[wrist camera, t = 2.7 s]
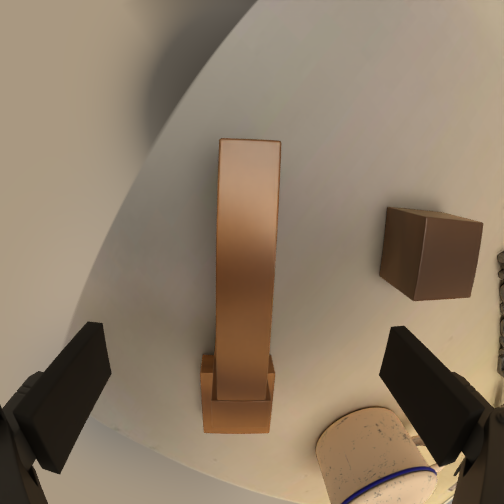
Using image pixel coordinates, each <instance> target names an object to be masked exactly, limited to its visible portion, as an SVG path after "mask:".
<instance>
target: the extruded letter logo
mask: <svg viewBox="0 0 504 504" xmlns="http://www.w3.org/2000/svg"><path fill="white" fill-rule="evenodd" d="M498 261H499V262H501V263H503V264H504V252H503V253H501V254H500V255H498ZM499 278H501V279H503V280H504V269H503V270H502V271H500V272H499ZM500 297H501V299H502V301H503V303H502V304H501V305H500V308H501V313H502V314H503V316H504V285H502V286H501V288H500ZM500 331H501V334H502V336H501V337H500V343H501V344H502V346H503V347H502V348H501V349H500V350H499V354H502V355H501V356H499V364H498V373H499V374H500V375H501V376H502V377H504V320H502V321H501V323H500ZM501 408H504V404H503V405H502V406H501Z"/></svg>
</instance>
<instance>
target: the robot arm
mask: <svg viewBox="0 0 504 504" xmlns="http://www.w3.org/2000/svg"><path fill="white" fill-rule="evenodd" d="M111 374H112V373H111V368H110V363H109V358H108V353H107V347H106V341H105V336H104V329H103V323H97V322H87V323H86V324H85V325H84V326H83V327H82V329H81V330H80V331H79V332H78V333H77V334H76V335H75V336H74V338H73V339H72V340H71V341H70V342H69V343H68V344H67V346H66V347H65V348H64V349H63V350H62V351H61V353H60V354H59V355H58V356H57V357H56V358H55V360H54V361H53V362H52V363H51V364H50V366H49V367H48V368H47V369H46V370H45V372H40V371H38V372H36V373H35V374H33V375H31V376H30V377H28V379H27V380H26V381H25V382H24V383H23V384H22V386H21V387H20V388H19V389H18V390H17V392H16V393H15V394H14V395H13V396H12V397H11V399H10V400H9V401H8V402H7V403H6V405H5V406H4V407H3V408H1V406H0V504H48V502H47V500H46V497H45V495H44V492H43V490H42V488H41V485H40V482H39V479H38V476H37V474H36V471H35V469H34V468H33V466H32V465H33V463H34V461H35V459H37V461H38V462H39V464H40V466H41V467H42V468H43V469H45V470H48V471H51V472H54V473H57V474H60V473H61V471H62V469H63V467H64V465H65V463H66V461H67V459H68V456H69V454H70V452H71V450H72V448H73V446H74V444H75V442H76V440H77V438H78V436H79V434H80V432H81V430H82V428H83V426H84V424H85V423H86V420H87V419H88V417H89V415H90V413H91V411H92V409H93V407H94V405H95V403H96V401H97V400H98V398H99V396H100V394H101V392H102V390H103V388H104V387H105V385H106V383H107V381H108V379H109V377H110V376H111ZM379 376H380V377H381V379H382V380H383V382H384V383H385V385H386V386H387V388H388V389H389V391H390V392H391V394H392V395H393V397H394V398H395V400H396V401H397V403H398V404H399V406H400V407H401V409H402V410H403V412H404V413H405V415H406V416H407V418H408V419H409V421H410V422H411V424H412V425H413V427H414V429H415V430H416V432H417V433H418V435H419V436H420V438H421V439H422V441H423V442H424V444H425V446H426V447H427V449H428V450H429V452H430V453H431V455H432V457H433V458H434V460H435V461H436V463H437V465H438V466H439V467H442V466H445V465H448V464H450V463H453V462H455V461H456V459H457V457H458V456H459V454H460V453H461V451H462V452H463V454H464V455H465V458H464V459H463V461H462V462H461V464H460V465H459V467H458V468H457V470H456V471H455V473H454V475H453V476H456V475H457V474H458V472H459V471H460V473H459V478H458V482H457V486H456V490H455V494H454V498H453V501H452V504H504V408H500V407H499V408H495V409H494V408H493V407H492V406H491V405H490V404H489V403H488V402H487V401H486V400H485V399H484V397H483V396H482V395H481V394H480V393H479V392H478V391H476V389H475V388H474V387H473V386H472V385H471V386H470V383H469V382H468V381H467V380H466V379H465V378H464V377H462V376H460V375H459V374H457V373H455V372H451V371H450V370H449V369H448V368H447V367H446V366H445V365H444V364H443V363H442V362H441V361H440V360H439V359H438V358H437V357H436V356H435V355H434V354H433V353H432V352H431V351H430V350H429V349H428V348H427V347H426V346H425V345H424V344H423V343H422V342H421V341H419V340H418V339H417V338H416V337H415V336H414V335H413V334H412V333H411V332H410V331H409V330H408V329H407V328H406V327H405V326H396V327H391V329H390V333H389V338H388V342H387V346H386V350H385V354H384V358H383V362H382V366H381V370H380V373H379Z"/></svg>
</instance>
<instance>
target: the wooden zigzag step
mask: <svg viewBox="0 0 504 504" xmlns="http://www.w3.org/2000/svg"><path fill="white" fill-rule="evenodd" d="M280 163H281V141H275V140H257V139H231V138H221V139H220V140H219V161H218V191H217V233H216V338H215V351H214V355H203V356H202V363H201V371H200V379H201V397H202V413H203V427H204V433H224V434H251V433H269V429H270V420H271V411H272V401H273V391H274V380H275V371H274V366H273V362H272V357H271V355H269V350H270V337H271V323H272V308H273V293H274V277H275V261H276V244H277V226H278V206H279V185H280Z"/></svg>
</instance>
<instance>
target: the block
mask: <svg viewBox="0 0 504 504" xmlns="http://www.w3.org/2000/svg"><path fill="white" fill-rule="evenodd" d="M482 230H483V223H482V222H478V221H474V220H471V219H467V218H463V217H459V216H455V215H451V214H447V213H442V212H435V211H426V210H416V209H406V208H395V207H388V208H387V218H386V228H385V237H384V245H383V254H382V261H381V268H380V277H382V278H383V279H384V280H386V281H387V282H388V283H390V284H391V285H392V286H394V287H395V288H396V289H398V290H399V291H401V292H402V293H403V294H405V295H406V296H407V297H409V298H410V299H411V300H412V301H424V300H440V299H455V298H469V297H470V296H471V292H472V287H473V282H474V278H475V273H476V268H477V262H478V256H479V250H480V244H481V237H482Z"/></svg>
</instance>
